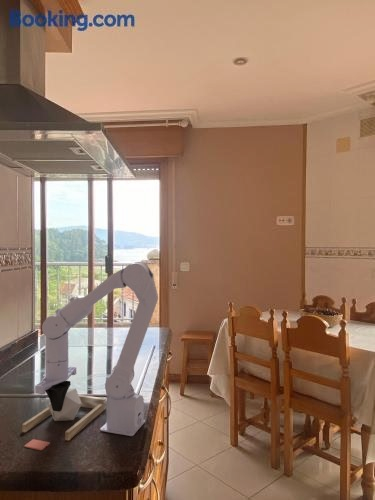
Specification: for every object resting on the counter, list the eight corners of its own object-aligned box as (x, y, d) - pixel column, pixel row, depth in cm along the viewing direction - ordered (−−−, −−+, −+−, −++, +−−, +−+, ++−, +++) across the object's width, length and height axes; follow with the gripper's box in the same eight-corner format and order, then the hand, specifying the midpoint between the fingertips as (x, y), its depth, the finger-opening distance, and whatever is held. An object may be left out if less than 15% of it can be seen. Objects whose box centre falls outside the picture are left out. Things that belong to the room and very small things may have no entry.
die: (45, 417, 100) (40, 399, 95) (67, 394, 107) (64, 375, 101) (66, 434, 98) (62, 416, 92) (88, 408, 104) (86, 390, 98)
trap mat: (50, 443, 86) (50, 442, 86) (41, 450, 84) (41, 449, 84) (33, 440, 88) (33, 439, 88) (24, 446, 85) (24, 445, 85)
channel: (105, 408, 105) (105, 398, 105) (68, 440, 88) (68, 428, 88) (65, 402, 109) (65, 392, 109) (22, 431, 92) (22, 420, 92)
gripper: (61, 350, 102) (61, 397, 103) (24, 366, 89) (25, 420, 89) (82, 352, 100) (82, 400, 101) (48, 369, 86) (48, 425, 87)
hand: (57, 410), depth 95 cm, fingers closed
